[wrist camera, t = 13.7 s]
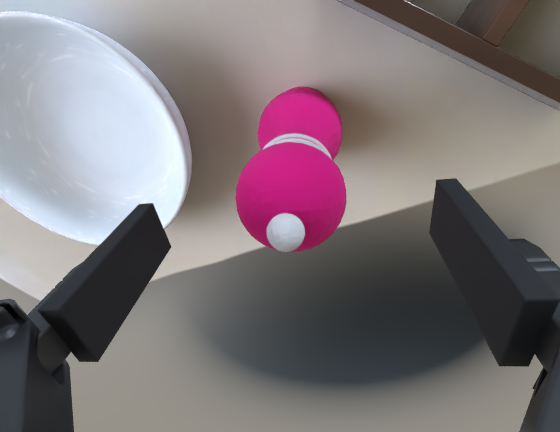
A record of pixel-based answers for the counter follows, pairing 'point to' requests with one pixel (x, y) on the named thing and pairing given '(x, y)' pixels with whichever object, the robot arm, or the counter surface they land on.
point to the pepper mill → (294, 173)
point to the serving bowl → (84, 130)
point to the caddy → (469, 40)
